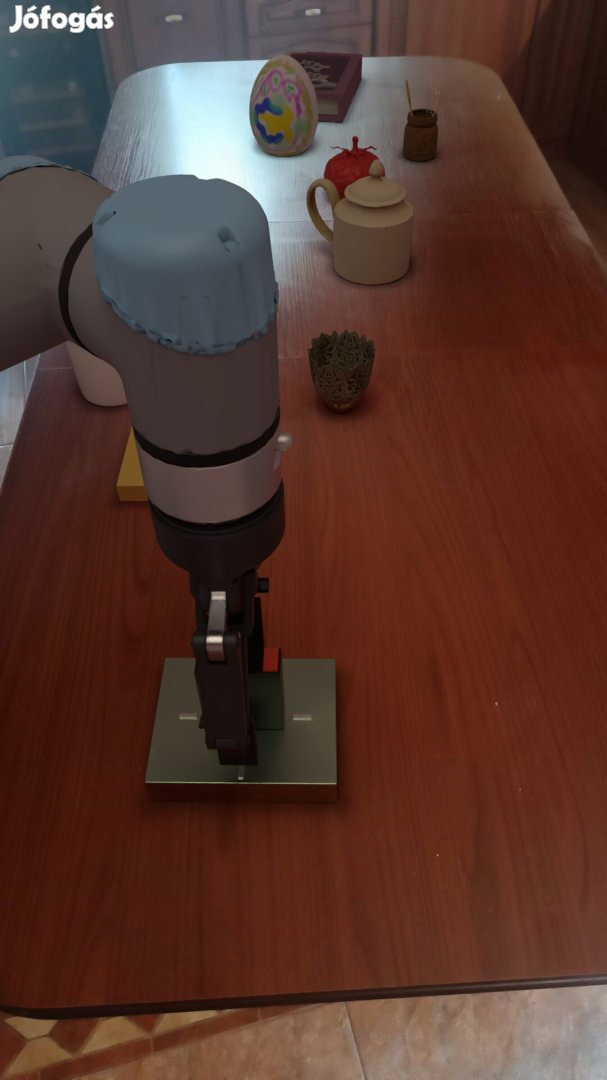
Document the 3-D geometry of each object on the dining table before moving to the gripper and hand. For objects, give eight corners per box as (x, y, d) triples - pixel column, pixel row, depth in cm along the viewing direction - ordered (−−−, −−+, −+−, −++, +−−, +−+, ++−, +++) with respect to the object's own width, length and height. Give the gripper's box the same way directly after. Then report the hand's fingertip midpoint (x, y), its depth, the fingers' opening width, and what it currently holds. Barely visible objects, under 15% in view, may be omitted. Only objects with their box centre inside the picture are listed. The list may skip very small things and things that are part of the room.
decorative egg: (241, 157, 144) (234, 63, 133) (264, 132, 152) (260, 42, 141) (306, 164, 141) (305, 69, 130) (326, 139, 149) (327, 47, 138)
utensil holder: (434, 163, 140) (442, 88, 132) (399, 161, 141) (404, 86, 133) (437, 150, 144) (444, 76, 136) (402, 148, 145) (407, 74, 137)
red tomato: (324, 211, 128) (325, 151, 121) (321, 185, 135) (322, 126, 128) (386, 210, 128) (390, 149, 121) (380, 183, 135) (383, 125, 128)
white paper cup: (94, 421, 92) (70, 330, 83) (62, 379, 98) (36, 290, 89) (170, 392, 95) (155, 301, 87) (135, 354, 101) (118, 265, 92)
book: (287, 75, 174) (287, 49, 170) (361, 79, 171) (362, 53, 168) (260, 118, 157) (259, 90, 153) (342, 122, 154) (342, 94, 151)
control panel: (150, 801, 60) (143, 781, 58) (169, 677, 68) (164, 656, 65) (336, 803, 60) (337, 783, 58) (335, 678, 67) (335, 657, 65)
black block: (205, 728, 61) (193, 671, 55) (207, 703, 62) (196, 645, 57) (283, 729, 61) (280, 671, 55) (284, 704, 62) (281, 645, 57)
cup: (321, 381, 96) (322, 323, 91) (380, 394, 95) (384, 335, 89) (299, 418, 92) (297, 358, 86) (360, 432, 90) (362, 372, 84)
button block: (120, 501, 83) (112, 472, 80) (135, 439, 90) (129, 410, 87) (235, 501, 82) (232, 472, 80) (242, 439, 89) (239, 410, 86)
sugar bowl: (304, 285, 112) (303, 176, 101) (307, 248, 120) (306, 143, 109) (411, 286, 112) (421, 176, 101) (407, 248, 119) (416, 142, 108)
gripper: (275, 641, 36) (289, 844, 53) (289, 368, 51) (296, 593, 68) (111, 641, 37) (176, 843, 53) (172, 368, 51) (208, 593, 68)
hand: (243, 703), depth 60 cm, fingers open, 9 cm apart
